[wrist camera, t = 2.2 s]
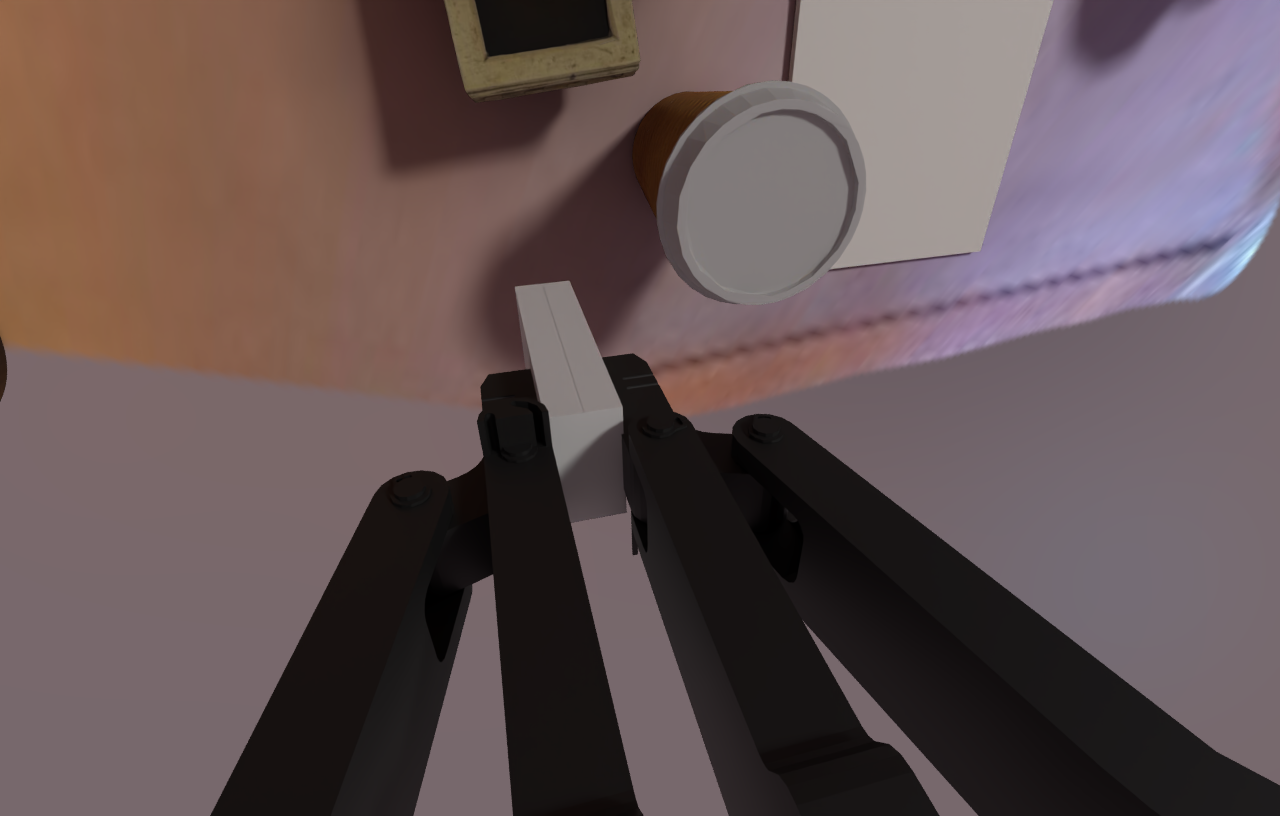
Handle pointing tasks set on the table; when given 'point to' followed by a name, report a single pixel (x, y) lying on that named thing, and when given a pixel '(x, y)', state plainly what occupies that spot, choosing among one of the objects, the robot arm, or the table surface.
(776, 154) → the disposable coffee cup
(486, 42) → the box
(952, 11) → the felt mat
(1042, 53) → the table surface
